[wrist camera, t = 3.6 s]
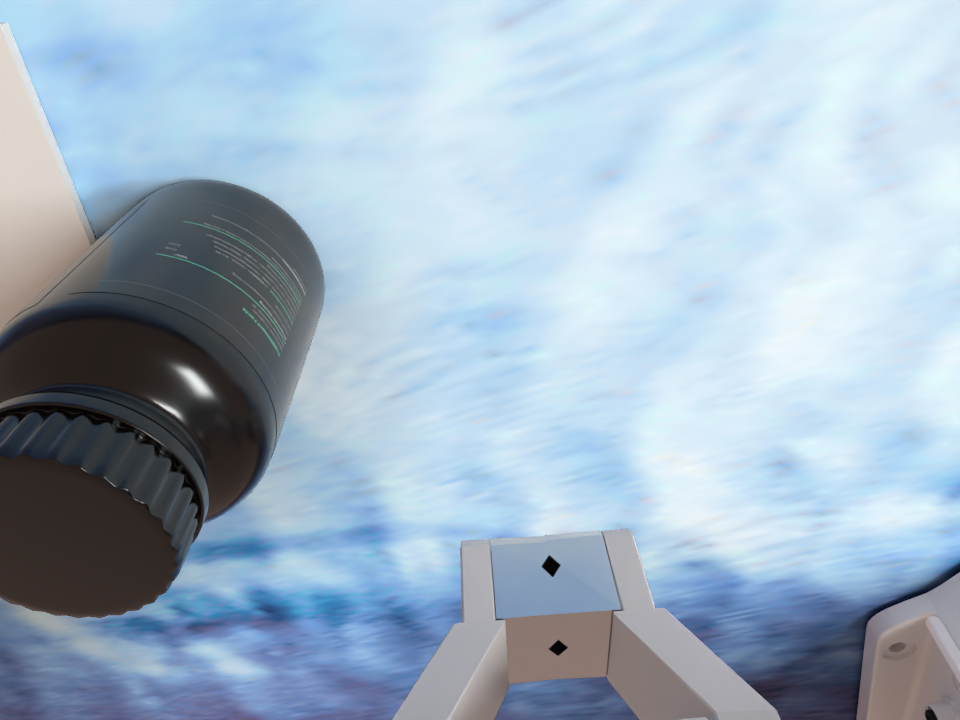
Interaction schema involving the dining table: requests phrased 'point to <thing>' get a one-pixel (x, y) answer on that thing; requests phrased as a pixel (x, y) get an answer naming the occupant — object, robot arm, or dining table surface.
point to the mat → (32, 192)
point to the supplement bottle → (148, 394)
